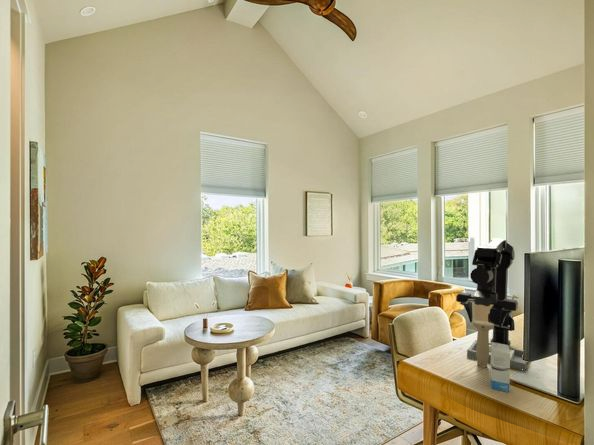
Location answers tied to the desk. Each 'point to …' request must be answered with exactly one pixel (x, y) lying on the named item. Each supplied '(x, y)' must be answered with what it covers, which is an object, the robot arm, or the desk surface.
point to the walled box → (515, 356)
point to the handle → (482, 342)
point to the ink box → (500, 367)
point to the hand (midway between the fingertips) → (485, 325)
